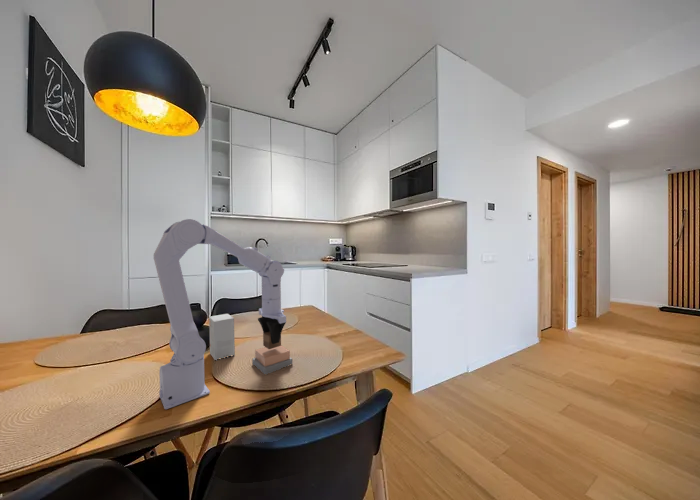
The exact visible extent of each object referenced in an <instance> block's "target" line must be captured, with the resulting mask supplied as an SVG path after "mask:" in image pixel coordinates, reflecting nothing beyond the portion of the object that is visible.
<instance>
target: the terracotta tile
mask: <svg viewBox="0 0 700 500" xmlns="http://www.w3.org/2000/svg"><path fill="white" fill-rule="evenodd" d="M254 353H255V355H254V356H255V357H254V358H256V359H257V360H259V361H260V362H261V363H262V364H263V365H264V366H268V365H272V364H275V363H278V362H281V361H284V360H287V359H290V358H291V352H290V350H289V349H287V347H285V346H283V345H282V344H281V346H278V347H275V348H272V349H268V348H266V347H265V346H263V347H261V348H256V349H255V351H254Z"/></svg>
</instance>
